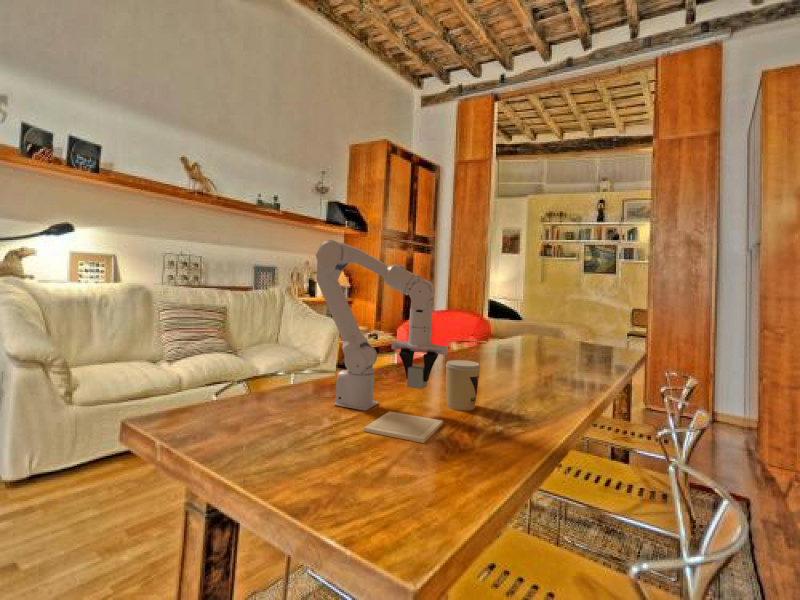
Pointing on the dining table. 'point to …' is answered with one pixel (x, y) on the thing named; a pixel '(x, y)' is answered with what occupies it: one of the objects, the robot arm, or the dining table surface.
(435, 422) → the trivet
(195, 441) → the dining table surface
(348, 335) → the robot arm
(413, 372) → the block
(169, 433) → the dining table surface
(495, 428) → the dining table surface
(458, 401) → the coffee cup
